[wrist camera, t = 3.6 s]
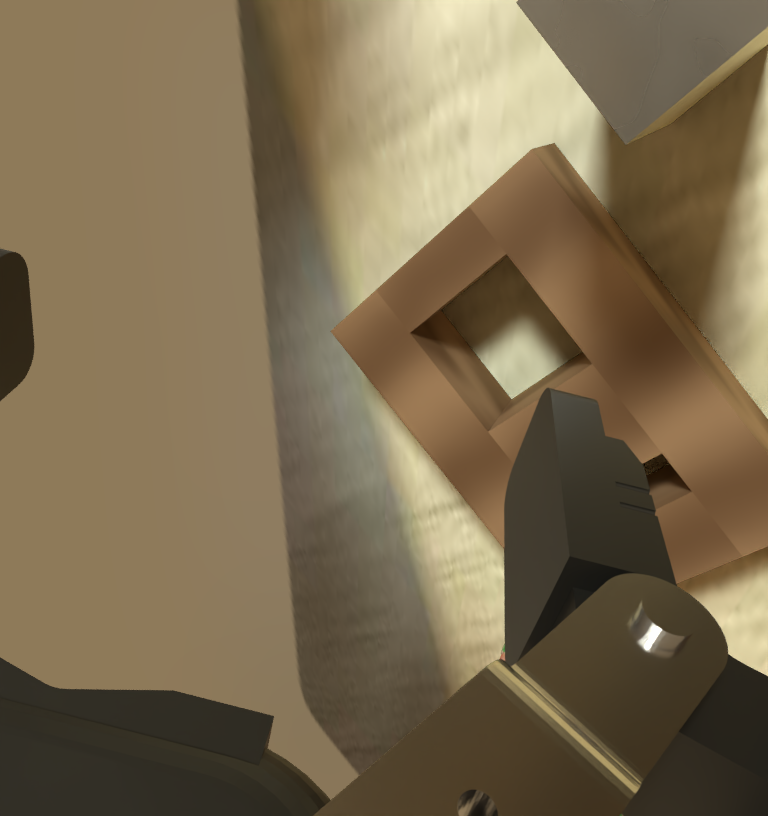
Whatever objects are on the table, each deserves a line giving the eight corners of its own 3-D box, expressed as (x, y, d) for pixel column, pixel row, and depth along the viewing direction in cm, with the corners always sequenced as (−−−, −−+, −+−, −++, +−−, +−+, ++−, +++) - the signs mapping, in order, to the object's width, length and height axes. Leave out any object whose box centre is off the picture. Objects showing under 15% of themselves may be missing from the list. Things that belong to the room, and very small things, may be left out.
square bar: (607, 42, 27) (516, 2, 16) (701, -47, 25) (676, -169, 14) (670, 124, 28) (625, 144, 16) (769, 43, 25) (801, -1, 14)
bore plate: (367, 309, 36) (330, 331, 33) (554, 143, 30) (531, 149, 26) (582, 580, 37) (567, 628, 33) (812, 477, 30) (822, 524, 27)
